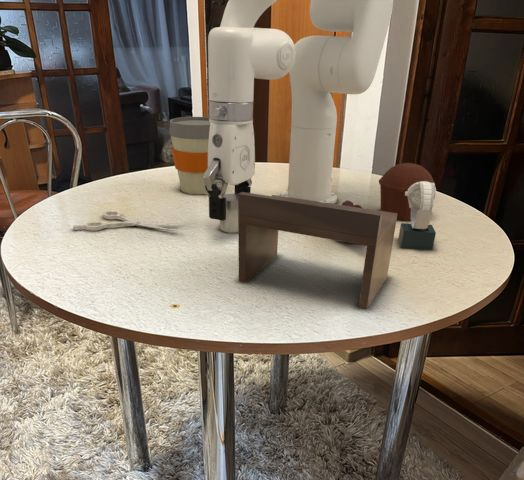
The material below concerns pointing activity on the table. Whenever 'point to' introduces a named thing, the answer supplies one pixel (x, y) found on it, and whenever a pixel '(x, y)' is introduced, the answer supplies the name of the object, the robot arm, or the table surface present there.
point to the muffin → (400, 188)
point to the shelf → (313, 233)
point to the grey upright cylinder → (230, 214)
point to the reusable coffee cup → (190, 151)
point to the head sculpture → (419, 217)
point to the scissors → (119, 223)
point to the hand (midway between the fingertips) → (230, 212)
